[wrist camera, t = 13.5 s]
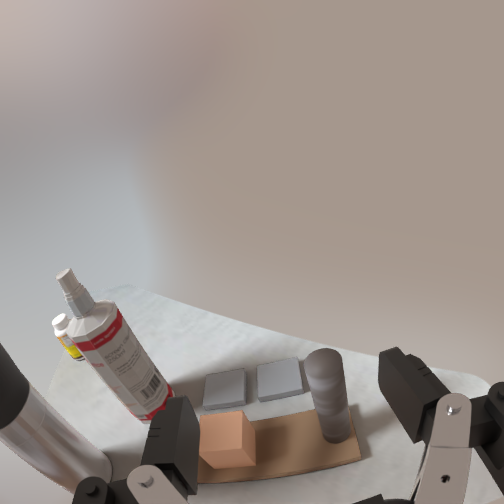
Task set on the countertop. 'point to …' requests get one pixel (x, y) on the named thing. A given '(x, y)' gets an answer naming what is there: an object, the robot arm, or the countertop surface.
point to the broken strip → (268, 378)
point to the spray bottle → (114, 351)
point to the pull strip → (301, 431)
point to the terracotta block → (227, 440)
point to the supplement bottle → (65, 336)
